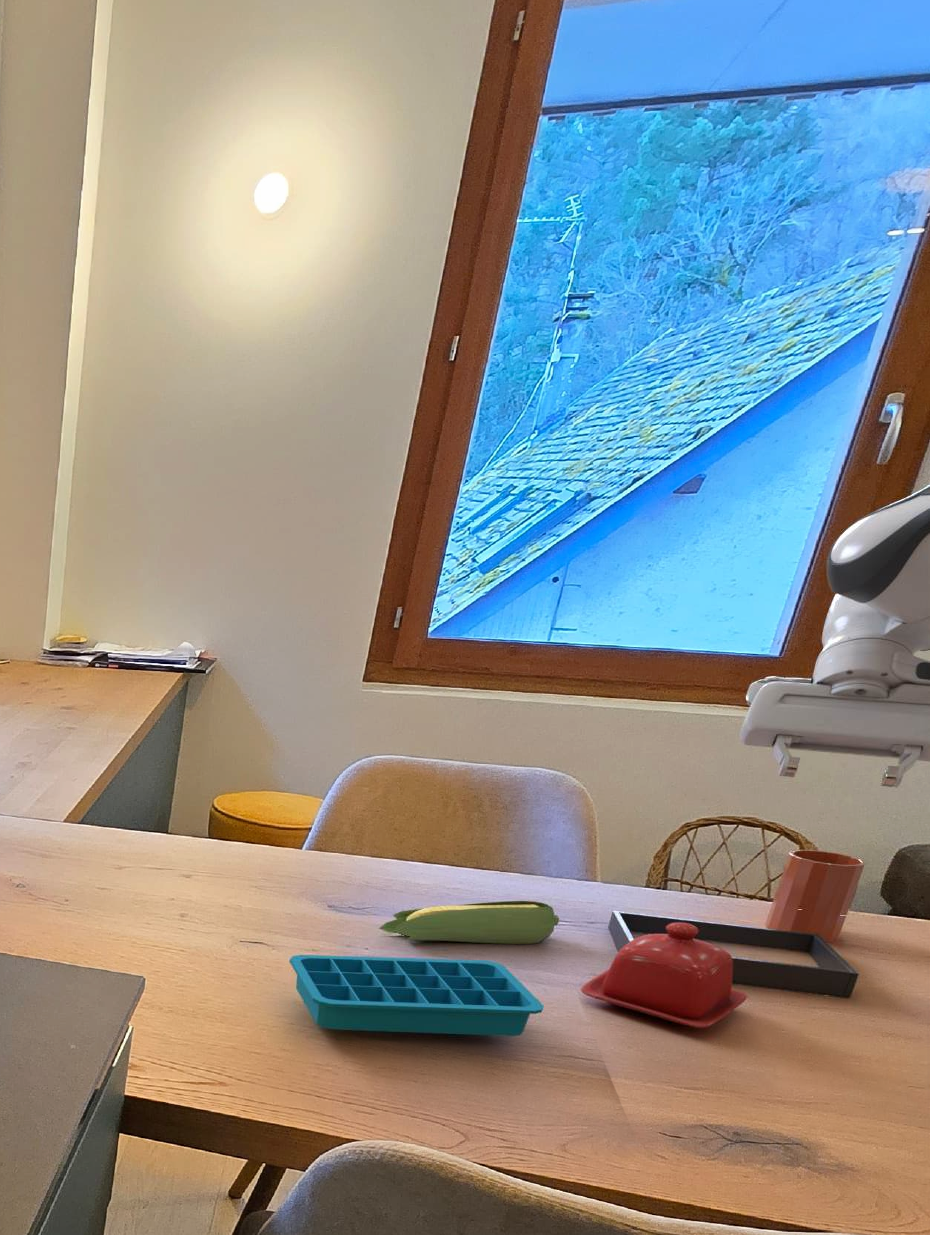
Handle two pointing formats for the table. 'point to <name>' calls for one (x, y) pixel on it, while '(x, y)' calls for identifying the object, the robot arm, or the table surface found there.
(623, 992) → the butter dish
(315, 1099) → the table surface
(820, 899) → the cup
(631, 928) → the tray
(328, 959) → the ice cube tray
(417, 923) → the edible corn
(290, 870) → the table surface
